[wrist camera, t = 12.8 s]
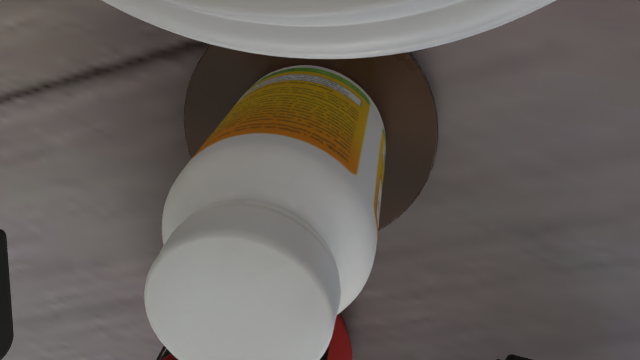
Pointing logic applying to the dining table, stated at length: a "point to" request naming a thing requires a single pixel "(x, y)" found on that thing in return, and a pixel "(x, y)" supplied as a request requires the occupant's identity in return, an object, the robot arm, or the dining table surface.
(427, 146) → the coaster
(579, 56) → the dining table surface
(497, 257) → the dining table surface
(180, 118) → the dining table surface
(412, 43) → the coffee cup
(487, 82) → the dining table surface
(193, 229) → the supplement bottle
